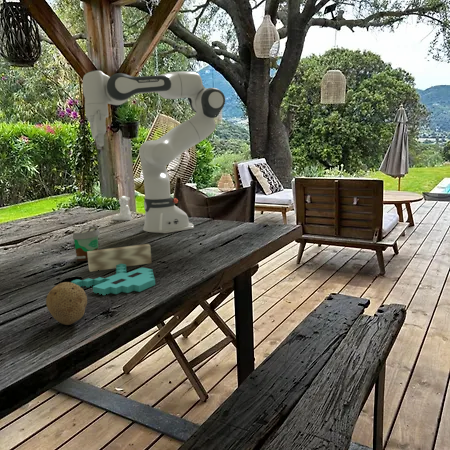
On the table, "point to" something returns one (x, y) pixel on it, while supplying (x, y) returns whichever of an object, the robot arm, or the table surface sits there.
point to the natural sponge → (66, 302)
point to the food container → (86, 242)
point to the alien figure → (121, 281)
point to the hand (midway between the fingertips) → (100, 147)
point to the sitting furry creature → (123, 210)
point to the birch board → (119, 257)
